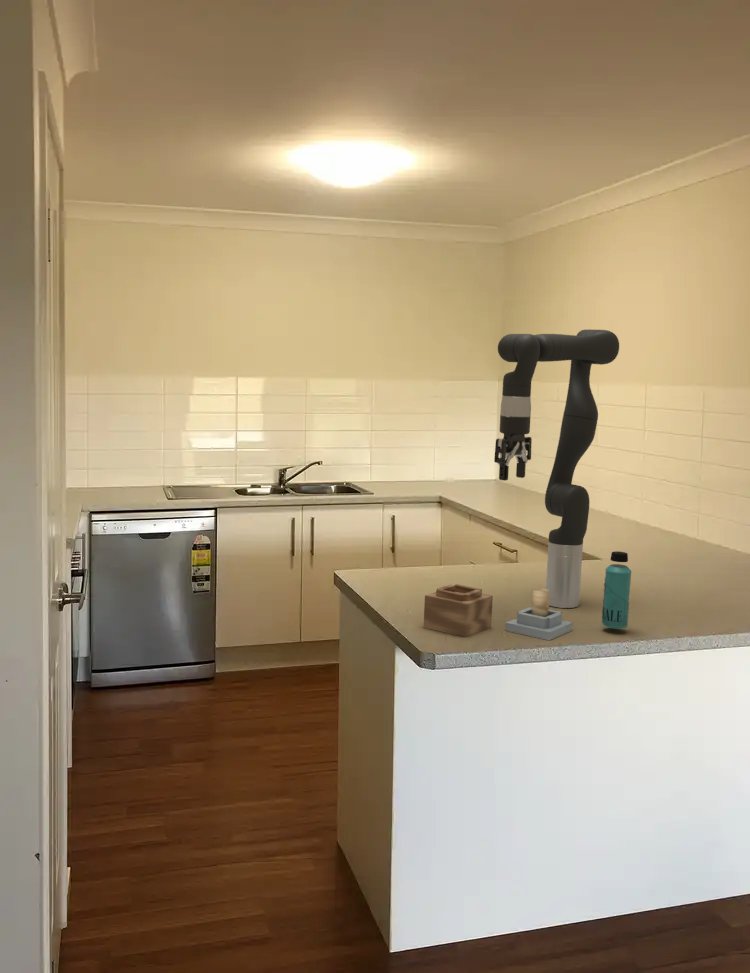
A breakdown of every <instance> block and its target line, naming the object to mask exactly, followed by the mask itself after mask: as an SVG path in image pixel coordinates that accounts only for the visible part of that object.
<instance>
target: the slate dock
mask: <svg viewBox="0 0 750 973" xmlns="http://www.w3.org/2000/svg"><path fill="white" fill-rule="evenodd" d="M562 617H563V611H558V610H554V609H548V616H547V617H541V616H537V615H532V606H531V607H530V606H529V607H526V608H523V609H521V610H517V614H516V618H514V619H511V620H509V621H506V622H505V628H504V629H505V630H504V631H506V632H511V633H515V634H519V635H523V636H528V637H533V638H538V639H541V640H545V641H551V640H553V639H556V638H558V637H560V636H562V635H566V634H567V633H569V632H572V631H573V622H571V621H566V620H563V618H562Z"/></svg>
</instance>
